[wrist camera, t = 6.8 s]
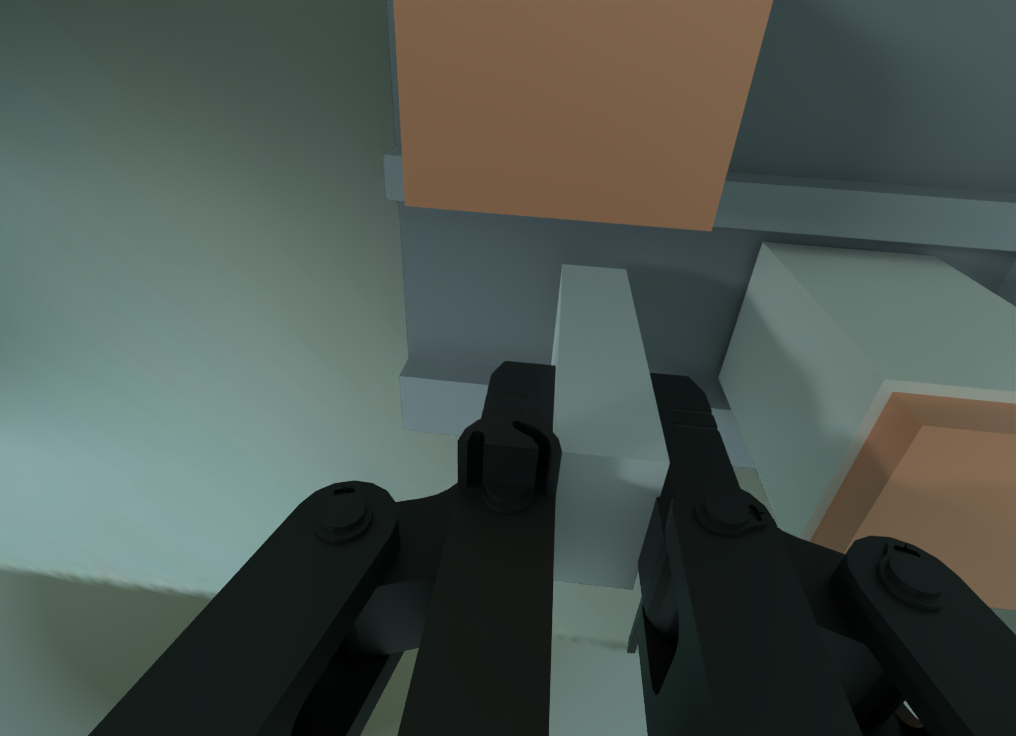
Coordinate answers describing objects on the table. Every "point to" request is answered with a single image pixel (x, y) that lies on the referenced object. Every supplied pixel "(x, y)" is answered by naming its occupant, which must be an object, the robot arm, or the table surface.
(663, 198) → the orange-topped white block
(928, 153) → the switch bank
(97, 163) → the table surface
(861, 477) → the orange topped white block
